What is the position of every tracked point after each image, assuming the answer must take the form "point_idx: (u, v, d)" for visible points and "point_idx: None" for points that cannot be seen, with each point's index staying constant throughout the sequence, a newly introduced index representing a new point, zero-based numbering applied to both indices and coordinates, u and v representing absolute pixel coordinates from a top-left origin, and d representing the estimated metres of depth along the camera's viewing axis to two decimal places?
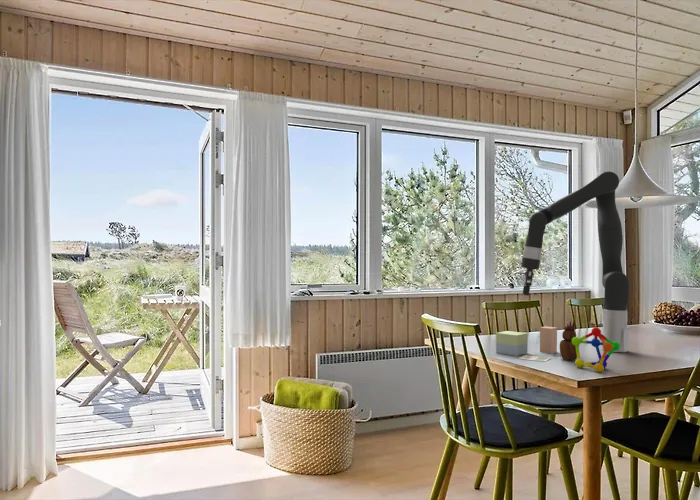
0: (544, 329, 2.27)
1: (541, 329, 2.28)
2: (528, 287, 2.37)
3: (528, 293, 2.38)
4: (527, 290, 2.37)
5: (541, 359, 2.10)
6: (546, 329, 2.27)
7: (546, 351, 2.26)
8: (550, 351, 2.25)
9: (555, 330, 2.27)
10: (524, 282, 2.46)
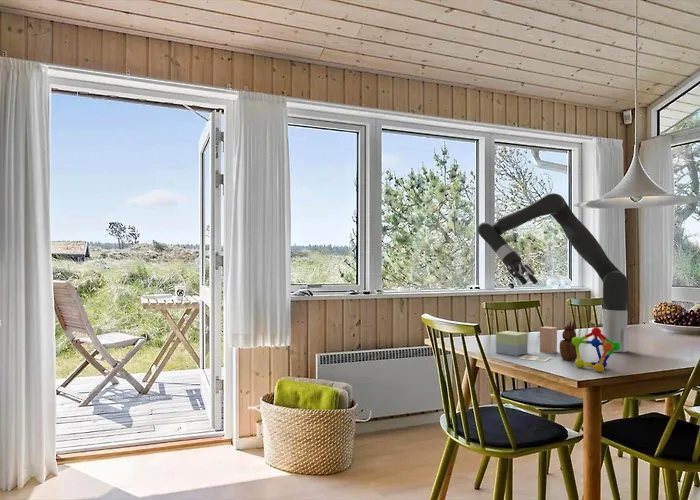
0: (544, 329, 2.27)
1: (541, 329, 2.28)
2: (520, 276, 2.41)
3: (525, 280, 2.39)
4: (521, 279, 2.40)
5: (541, 359, 2.10)
6: (546, 329, 2.27)
7: (546, 351, 2.26)
8: (550, 351, 2.25)
9: (555, 330, 2.27)
10: None
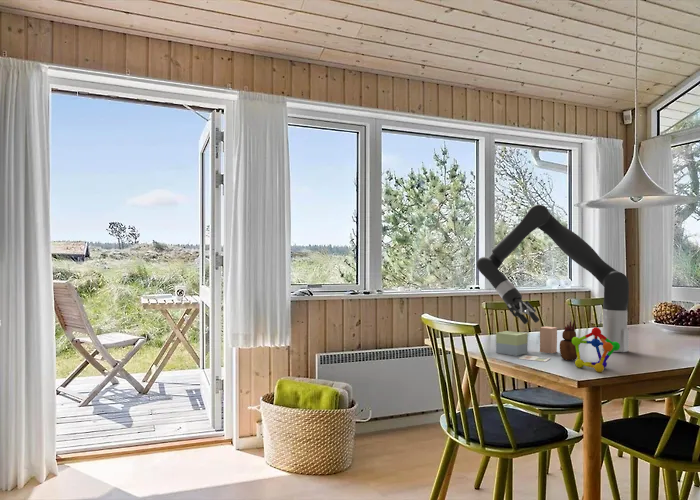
0: (544, 329, 2.27)
1: (541, 329, 2.28)
2: (520, 315, 2.32)
3: (526, 319, 2.31)
4: (522, 318, 2.32)
5: (541, 359, 2.10)
6: (546, 329, 2.27)
7: (546, 351, 2.26)
8: (550, 351, 2.25)
9: (555, 330, 2.27)
10: None
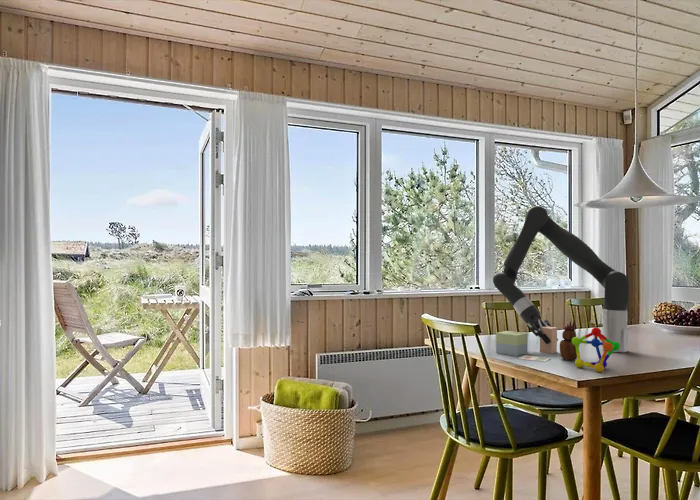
0: (544, 329, 2.27)
1: None
2: (542, 335, 2.26)
3: (548, 339, 2.25)
4: (544, 338, 2.25)
5: (541, 359, 2.10)
6: (546, 329, 2.27)
7: (546, 351, 2.26)
8: (550, 351, 2.25)
9: (555, 330, 2.27)
10: None
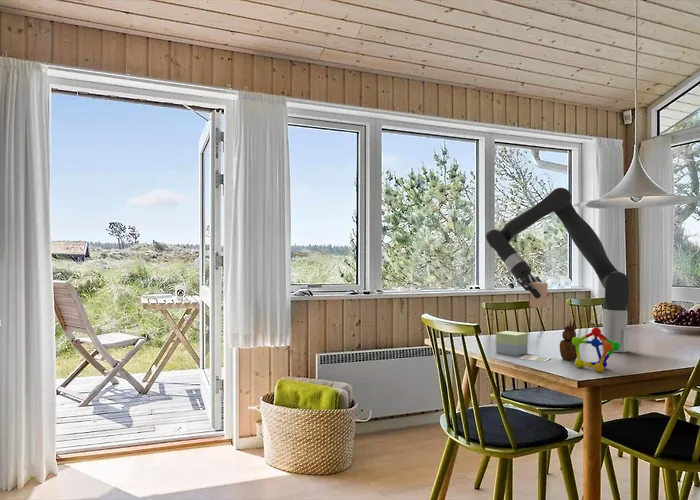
0: (534, 284, 2.26)
1: None
2: (532, 290, 2.25)
3: (538, 294, 2.24)
4: (534, 293, 2.25)
5: (541, 359, 2.10)
6: (536, 284, 2.26)
7: (536, 306, 2.26)
8: (540, 306, 2.25)
9: (545, 285, 2.27)
10: None
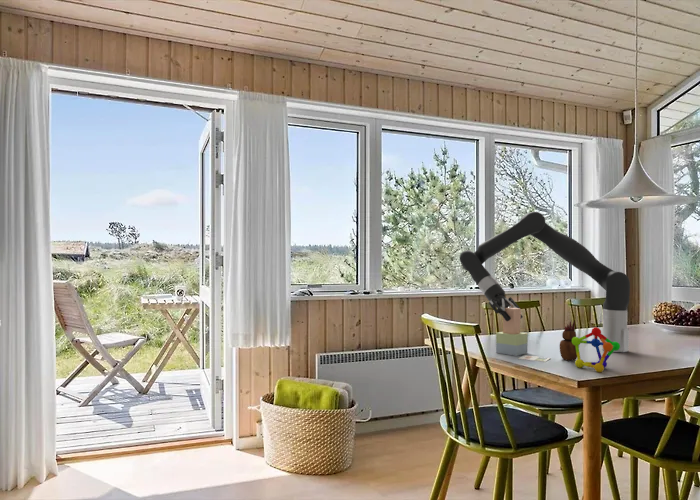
0: (507, 310, 2.23)
1: None
2: (502, 312, 2.22)
3: (508, 317, 2.21)
4: (504, 315, 2.21)
5: (541, 359, 2.10)
6: (509, 310, 2.23)
7: (509, 332, 2.23)
8: (512, 332, 2.21)
9: (518, 311, 2.23)
10: None
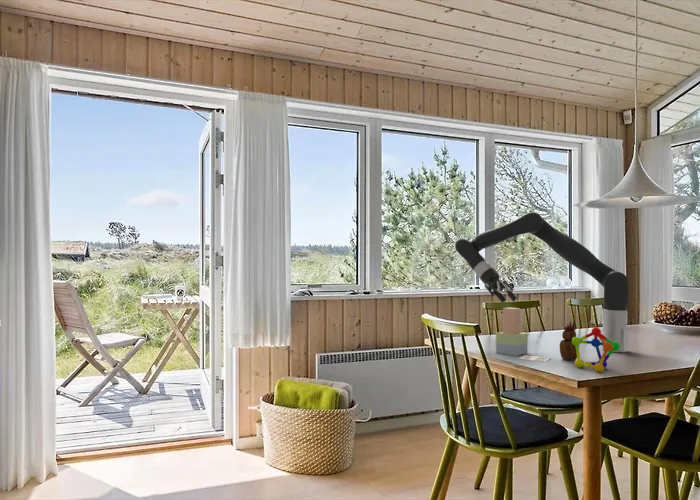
0: (507, 310, 2.23)
1: (504, 310, 2.24)
2: (498, 294, 2.35)
3: (503, 298, 2.34)
4: (500, 297, 2.35)
5: (541, 359, 2.10)
6: (509, 310, 2.23)
7: (509, 332, 2.23)
8: (512, 332, 2.21)
9: (518, 311, 2.23)
10: None
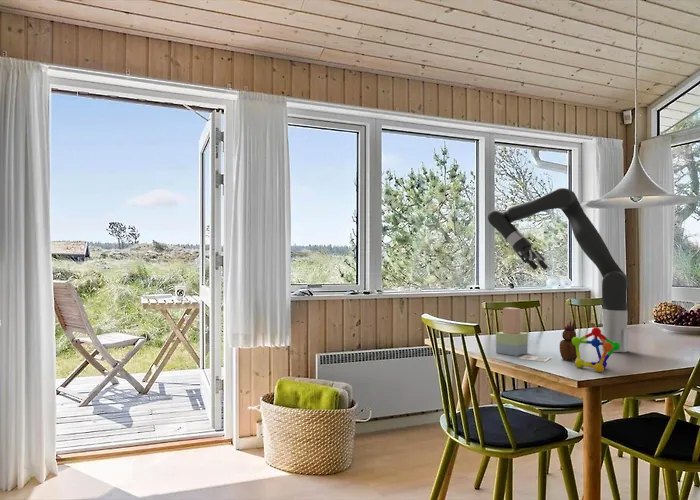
0: (507, 310, 2.23)
1: (504, 310, 2.24)
2: (530, 262, 2.45)
3: (535, 265, 2.44)
4: (532, 264, 2.45)
5: (541, 359, 2.10)
6: (509, 310, 2.23)
7: (509, 332, 2.23)
8: (512, 332, 2.21)
9: (518, 311, 2.23)
10: (537, 262, 2.53)
